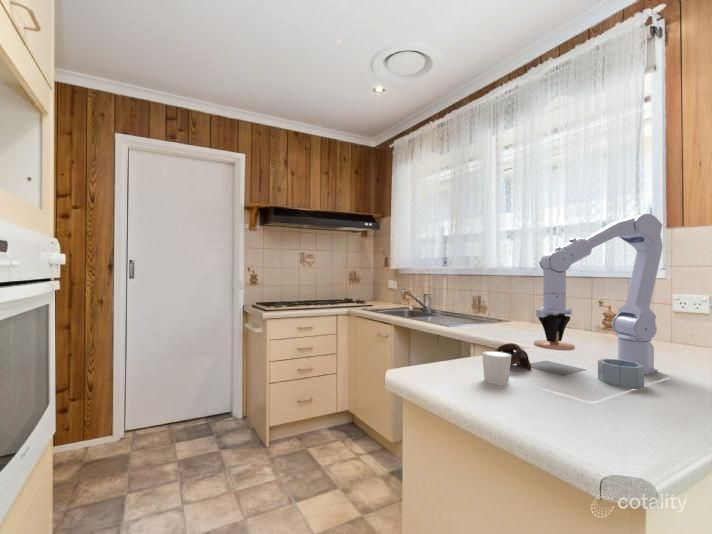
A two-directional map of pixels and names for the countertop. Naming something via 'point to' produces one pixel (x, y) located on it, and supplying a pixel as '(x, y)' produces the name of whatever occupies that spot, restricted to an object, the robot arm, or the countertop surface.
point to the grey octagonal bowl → (621, 373)
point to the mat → (555, 368)
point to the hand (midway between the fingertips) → (554, 341)
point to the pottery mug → (516, 354)
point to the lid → (554, 344)
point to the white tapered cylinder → (496, 367)
